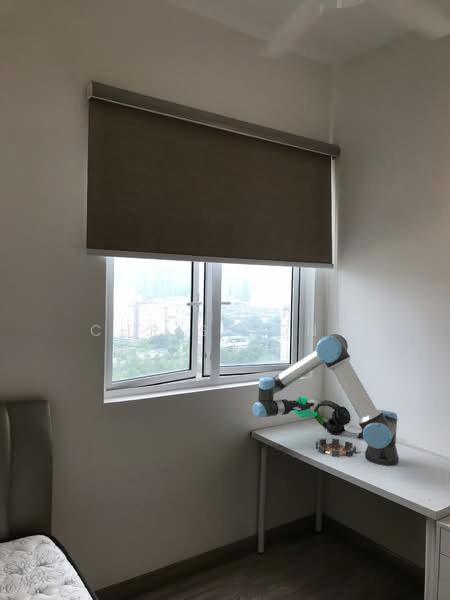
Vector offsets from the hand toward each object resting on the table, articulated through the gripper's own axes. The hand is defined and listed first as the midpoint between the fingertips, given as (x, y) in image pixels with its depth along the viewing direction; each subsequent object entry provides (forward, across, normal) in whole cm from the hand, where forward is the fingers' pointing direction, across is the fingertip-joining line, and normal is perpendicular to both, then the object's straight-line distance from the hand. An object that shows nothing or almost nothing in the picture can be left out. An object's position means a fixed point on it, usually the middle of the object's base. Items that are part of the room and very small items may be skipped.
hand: (315, 402), depth 256 cm
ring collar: (-5, +21, -18) cm, 28 cm away
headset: (+16, +3, -18) cm, 24 cm away
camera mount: (-7, 0, -6) cm, 10 cm away
